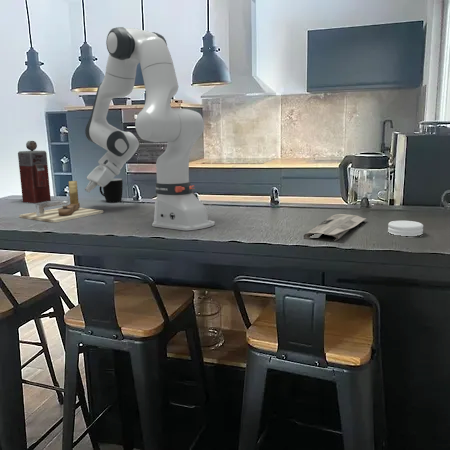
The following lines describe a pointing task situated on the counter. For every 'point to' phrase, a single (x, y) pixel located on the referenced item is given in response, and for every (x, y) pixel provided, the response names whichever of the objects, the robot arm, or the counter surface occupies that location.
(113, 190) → the mug
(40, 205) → the keeper
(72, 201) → the tan l-shaped piece
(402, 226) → the white round disc
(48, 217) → the pivot board
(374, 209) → the counter surface
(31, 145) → the toy vending machine
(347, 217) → the newspaper
